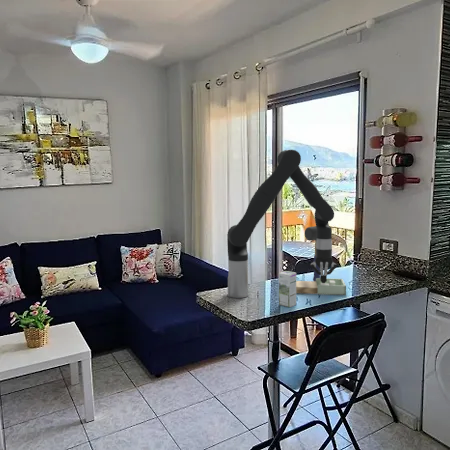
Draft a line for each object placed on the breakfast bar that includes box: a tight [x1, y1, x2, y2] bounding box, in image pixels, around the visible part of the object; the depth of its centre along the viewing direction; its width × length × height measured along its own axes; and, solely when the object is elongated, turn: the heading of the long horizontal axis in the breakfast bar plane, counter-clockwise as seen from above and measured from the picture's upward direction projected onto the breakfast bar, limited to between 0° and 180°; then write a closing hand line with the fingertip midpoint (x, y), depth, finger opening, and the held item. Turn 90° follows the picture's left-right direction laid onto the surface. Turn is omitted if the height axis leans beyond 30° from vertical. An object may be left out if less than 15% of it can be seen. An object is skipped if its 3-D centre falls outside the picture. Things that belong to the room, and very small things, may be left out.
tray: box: [316, 278, 347, 296], centre depth 206 cm, size 13×14×4 cm
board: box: [296, 280, 318, 295], centre depth 208 cm, size 12×12×3 cm
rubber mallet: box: [304, 225, 320, 281], centre depth 220 cm, size 12×8×30 cm, turn 117°
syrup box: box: [278, 270, 297, 308], centre depth 184 cm, size 6×6×14 cm
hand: (323, 282), depth 206 cm, fingers closed
